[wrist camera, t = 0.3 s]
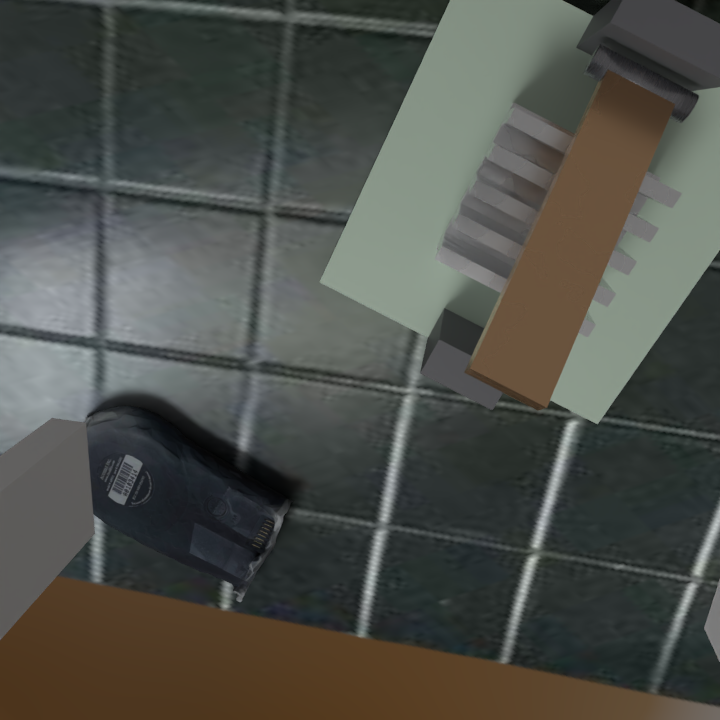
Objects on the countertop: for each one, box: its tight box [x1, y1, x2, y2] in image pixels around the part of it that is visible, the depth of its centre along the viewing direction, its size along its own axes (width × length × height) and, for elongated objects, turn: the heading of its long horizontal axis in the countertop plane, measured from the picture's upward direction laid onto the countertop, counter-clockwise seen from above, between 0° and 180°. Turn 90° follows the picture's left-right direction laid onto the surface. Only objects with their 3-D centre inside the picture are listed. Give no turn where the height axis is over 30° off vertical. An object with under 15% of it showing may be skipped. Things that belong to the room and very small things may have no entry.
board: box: [320, 0, 720, 424], centre depth 32 cm, size 18×18×10 cm
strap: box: [464, 44, 699, 410], centre depth 25 cm, size 4×15×1 cm
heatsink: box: [435, 102, 682, 338], centre depth 32 cm, size 8×8×6 cm
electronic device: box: [84, 406, 293, 602], centre depth 45 cm, size 9×6×15 cm
